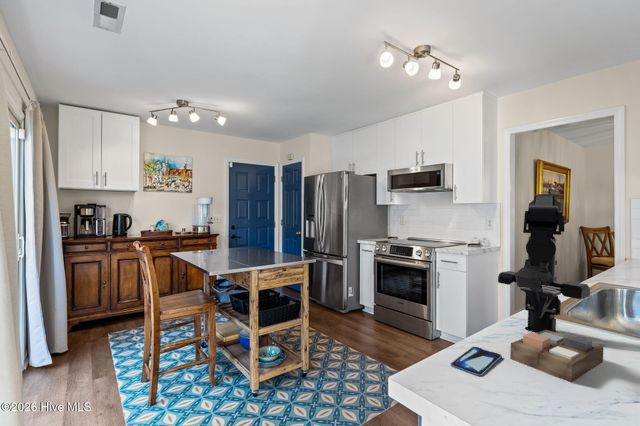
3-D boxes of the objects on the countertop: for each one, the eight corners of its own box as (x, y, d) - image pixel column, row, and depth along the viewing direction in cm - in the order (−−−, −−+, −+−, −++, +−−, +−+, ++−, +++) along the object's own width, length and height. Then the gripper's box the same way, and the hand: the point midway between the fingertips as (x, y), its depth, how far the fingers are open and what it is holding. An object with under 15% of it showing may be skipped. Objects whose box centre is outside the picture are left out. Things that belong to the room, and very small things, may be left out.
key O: (563, 349, 82) (564, 337, 82) (570, 345, 85) (571, 334, 85) (584, 356, 79) (585, 343, 79) (591, 352, 81) (592, 340, 81)
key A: (548, 362, 78) (549, 349, 78) (557, 358, 80) (557, 346, 80) (570, 370, 74) (571, 357, 74) (578, 365, 77) (578, 353, 77)
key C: (537, 346, 87) (537, 335, 87) (545, 342, 90) (545, 332, 90) (556, 352, 84) (556, 341, 84) (563, 348, 86) (563, 337, 86)
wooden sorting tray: (510, 358, 82) (510, 343, 82) (545, 343, 93) (545, 329, 93) (571, 382, 71) (571, 364, 71) (603, 362, 82) (603, 346, 82)
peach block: (522, 347, 83) (523, 335, 83) (531, 343, 85) (531, 332, 85) (541, 353, 79) (542, 341, 79) (549, 349, 82) (550, 338, 82)
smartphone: (448, 364, 78) (473, 345, 88) (448, 368, 78) (473, 349, 88) (480, 376, 73) (503, 355, 83) (480, 380, 73) (503, 358, 83)
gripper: (487, 253, 85) (485, 312, 85) (572, 264, 70) (570, 336, 70) (509, 250, 91) (507, 305, 92) (592, 260, 76) (589, 327, 76)
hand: (539, 317), depth 82 cm, fingers closed
